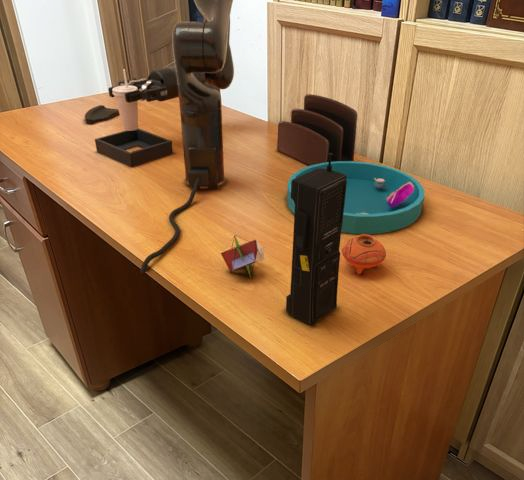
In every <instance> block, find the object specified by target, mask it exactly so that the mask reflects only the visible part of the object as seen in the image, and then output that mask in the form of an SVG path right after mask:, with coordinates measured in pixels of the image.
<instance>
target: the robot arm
mask: <svg viewBox="0 0 524 480" xmlns="http://www.w3.org/2000/svg"><path fill="white" fill-rule="evenodd" d="M193 2H194V4H195V7H196V8H197V9H198V11H199V13H200V14H201V15H202V17H203V21H178V22H176V23H175V24H174V26H173V29H172V33H171V34H172V35H171V43H172V55H173V60H174V65H172V66H167V67H161V68H157V69H153V70H151V71H150V72H149V74H148V77H147V78H140V79H138V78H136V77H132V78H129V79H127V84H128V85H130V86H136V87H137V88H138V90H135V91H131V92H126V93H125V100H126V102H128V103H130V102H134V101H137V102H138V101H141V102H144V101H146V102H147V103H150V102H155V101H157V102H161V103H162V102H165V101H170V100H173V99H177V98H178V101H179V102H178V104H179V114H180V126H181V137H182V138H181V139H182V149H183V161H184V162H183V163H184V173H185V184H186V185H187V186H188V187H190V189H191V192H190V195H189V198H188V200H187V201H186V202H185V203H184V204H183V205H181V206H179V207H177V208H175V209H173V210H172V211H171V212H170V213H169V215H168V216H169V217H168V220H169V222H170V224H171V225H172V227H173V228H174V235H173V236H172V237H171V238H170V239H169V241H167V242H166V243H165V244H164V245H163V246H162V247H160V248H159V250H156V251H155V252H152V253H150V254H149V255H148V256H147V257H146V258H145V259H144V261H143V263H142V265H141V267H140V270H139V271H140V274H144V273H146V271H147V267H148V266H149V264H150V262H151V261H152V260H154V259H155V258H157V257H160V256H161V255H163V254H164V253H165V252H166V251H167V250H168V249H169V248H170V247H172V246H173V244H175V243H176V242H177V240H178V239H179V236H180V234H181V231H180V230H181V229H180V227H179V225H178V223H177V222H176V221H175V219H174V218H175V216H176V215H177V214H179V213H181V212H183V211H185V210H186V209H187V208H189V207H190V206H191V204H192V203H193V201H194V198H195V197H196V193H197V190H218V189H219V187H221V186H223V185H224V184H225V182H226V177H225V162H224V138H223V137H224V135H223V134H224V133H223V108H222V95H221V92H220V91H219V90H227V89H228V88H229V87H230V86H231V84H232V83H233V80H234V77H235V67H234V60H233V55H232V49H231V44H230V39H231V36H230V35H231V14H232V13H231V12H232V6H233V3H234V0H193ZM207 84H208V85H207ZM124 85H125V80H121V81H118V82H117V85H114V86H109V87H108V89H107V90H108V96H109V97H110V98H115V96H114V94H113V92H112V89H113V88H114V87H117V86H124ZM211 86H212V87H211ZM217 89H218V90H217Z"/></svg>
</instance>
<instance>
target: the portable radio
mask: <svg viewBox="0 0 524 480" xmlns="http://www.w3.org/2000/svg"><path fill="white" fill-rule="evenodd" d="M328 155H329V164H328V165H327V169H325V168H317V169H315V170H313V171H310V172H308V173H306V174H304V175H302V176H299V177H297V178H295V179H293V180H292V182H291V199H292V200H293V201H294V203H295V214H293V215H294V218H293V236H292V254H291V255H292V256H291V275H290V291H289V294H288V295H286V297H285V299H286V301H285V312H287V313H288V315H290V316H291V317H293V318H295V319H297V320H299V321H301V322H303V323H305V324H307V325H309V326H313V325H315V324H316V323H317V322H319V321H320V320H322V319H323V318H325V317H326V316H327V315H328V314H330V313H332V312H333V311H334V310H335V309H336V308H337V307H338V285H339V275H340V273H339V272H340V262H341V252H340V246H341V235H342V232H341V229H342V222H343V213H344V204H345V195H346V186H347V180H346V178H347V176H346V175H345V174H342V173H339V172H336V171H333V170H332V166H331V155H333V153H328Z"/></svg>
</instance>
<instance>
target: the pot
mask: <svg viewBox="0 0 524 480" xmlns="http://www.w3.org/2000/svg"><path fill="white" fill-rule="evenodd" d="M341 253H342V257H343V258H344V259H345V261H346V262H348V263H349V264H350V265H351V266H354V268H355V272H356V275H361V273H362V272H363V271H364V269H370V268H374V267H375V268H379V266H380V265H381V263H383V262H384V261H385V259H386V257H387V251H386V249H385V247H384V244H382V242H380V241H379V240H378V239H377V238H375V237H374V236H373V234H357V236H354V237H352V238H349V239H348V240H347V241H346V242H345V244H344V245H343V246H342V248H341Z"/></svg>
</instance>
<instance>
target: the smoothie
mask: <svg viewBox="0 0 524 480" xmlns="http://www.w3.org/2000/svg"><path fill="white" fill-rule="evenodd" d="M122 71H123V72H122V73H123V79H124V81H125V85H124V86H118V85H116V86H117V87H114V86H113V87H114V88H113V89H112V92H113V94H114V96H115V97H114V100H115V103H116V106H117V109H118V110H119V114H118V115H119V117H120V120H121V125H122V128H123V131H133V130H137V129H138V128H139V108H138V104H139V103H138V101H134V102H130V103H128V102H126V100H125V93H126V92H131V91H135V90H138V88H137V87H136V86H130V85H128V84H127V80H128V77H127V72H126V69H125V68H123V69H122Z"/></svg>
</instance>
